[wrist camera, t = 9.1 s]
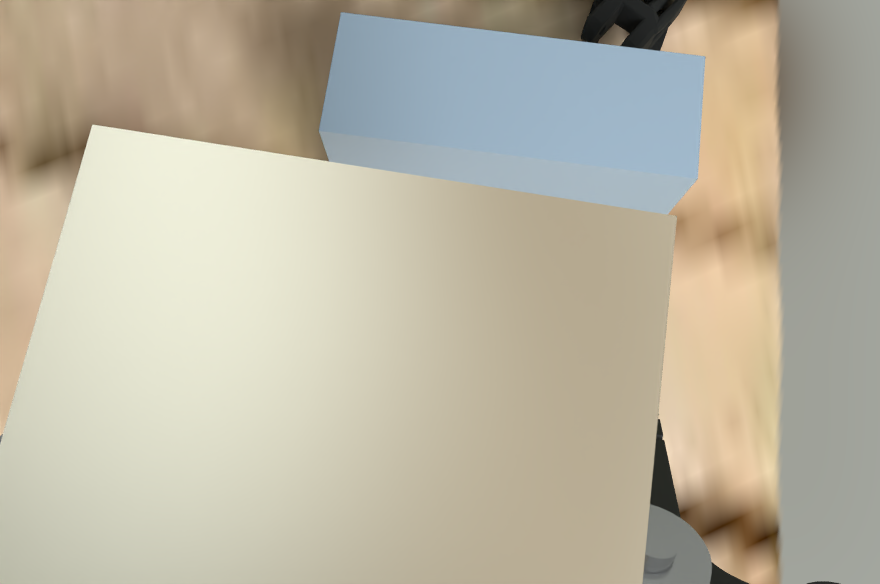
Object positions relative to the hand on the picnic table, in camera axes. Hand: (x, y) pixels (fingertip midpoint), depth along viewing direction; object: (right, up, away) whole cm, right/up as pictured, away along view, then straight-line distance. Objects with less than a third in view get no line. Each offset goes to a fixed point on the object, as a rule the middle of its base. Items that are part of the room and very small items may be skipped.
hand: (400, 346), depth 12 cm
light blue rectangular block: (+3, +6, +26) cm, 27 cm away
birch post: (0, -3, +4) cm, 5 cm away
